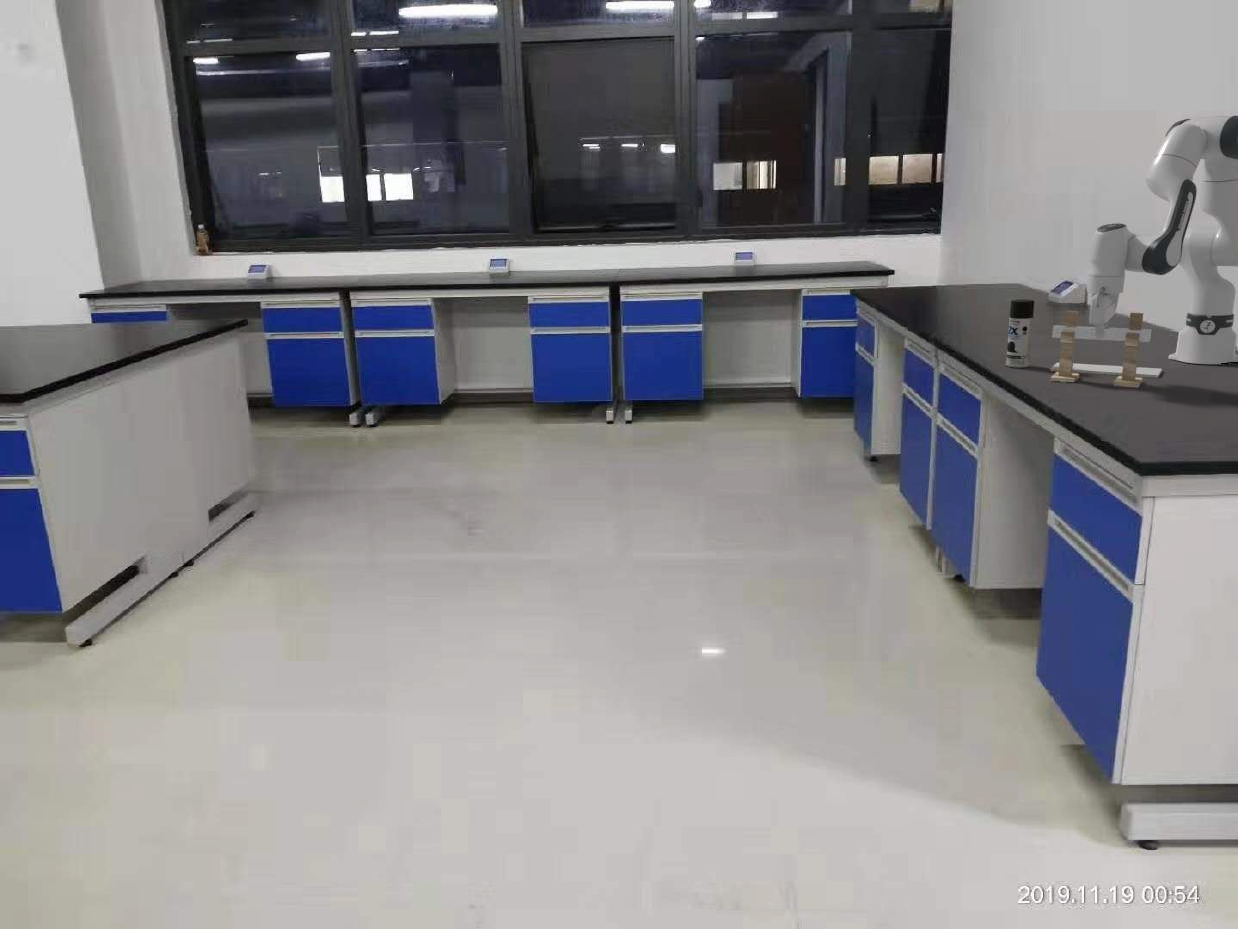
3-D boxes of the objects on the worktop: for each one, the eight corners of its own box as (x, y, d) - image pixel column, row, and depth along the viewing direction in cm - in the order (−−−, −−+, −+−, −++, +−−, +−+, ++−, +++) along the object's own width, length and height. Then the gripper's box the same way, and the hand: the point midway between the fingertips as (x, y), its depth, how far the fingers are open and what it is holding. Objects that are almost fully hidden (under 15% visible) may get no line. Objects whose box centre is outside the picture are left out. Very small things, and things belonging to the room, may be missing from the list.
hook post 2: (1118, 380, 265) (1125, 312, 259) (1142, 381, 261) (1150, 312, 256) (1113, 385, 258) (1120, 316, 253) (1138, 387, 255) (1146, 316, 250)
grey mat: (1057, 364, 288) (1057, 362, 288) (1161, 371, 273) (1162, 368, 273) (1050, 370, 281) (1050, 368, 280) (1157, 377, 265) (1158, 375, 265)
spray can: (1000, 365, 291) (1005, 300, 285) (1018, 363, 293) (1023, 298, 288) (1016, 369, 285) (1021, 302, 279) (1034, 366, 287) (1039, 300, 282)
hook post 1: (1056, 376, 273) (1062, 309, 268) (1078, 377, 270) (1085, 310, 265) (1050, 381, 267) (1056, 313, 262) (1073, 382, 264) (1079, 314, 258)
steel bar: (1054, 335, 269) (1055, 325, 268) (1150, 340, 255) (1151, 329, 254) (1052, 337, 266) (1052, 326, 265) (1148, 342, 253) (1150, 330, 252)
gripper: (1112, 290, 247) (1106, 343, 251) (1123, 281, 263) (1118, 331, 267) (1085, 290, 250) (1080, 342, 254) (1098, 281, 266) (1094, 330, 270)
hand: (1100, 336), depth 261 cm, fingers closed on steel bar, 3 cm apart
